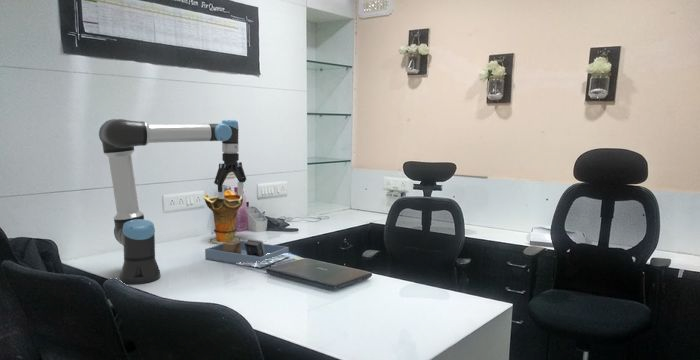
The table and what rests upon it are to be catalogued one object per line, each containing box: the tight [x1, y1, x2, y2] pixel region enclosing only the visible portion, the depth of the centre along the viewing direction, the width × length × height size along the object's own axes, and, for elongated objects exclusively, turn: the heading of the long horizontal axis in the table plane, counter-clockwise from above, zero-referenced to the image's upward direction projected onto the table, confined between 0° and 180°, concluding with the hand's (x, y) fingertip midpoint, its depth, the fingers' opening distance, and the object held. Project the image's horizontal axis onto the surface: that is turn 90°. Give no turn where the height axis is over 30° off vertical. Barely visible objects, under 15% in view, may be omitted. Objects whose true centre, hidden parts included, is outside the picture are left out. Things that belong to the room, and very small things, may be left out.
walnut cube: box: [223, 241, 241, 254], centre depth 234 cm, size 6×6×6 cm
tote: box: [204, 240, 290, 265], centre depth 230 cm, size 22×32×5 cm
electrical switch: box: [245, 238, 266, 257], centre depth 227 cm, size 9×5×9 cm, turn 57°
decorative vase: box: [202, 189, 245, 245], centre depth 265 cm, size 21×23×28 cm
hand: (231, 197), depth 231 cm, fingers open, 13 cm apart
